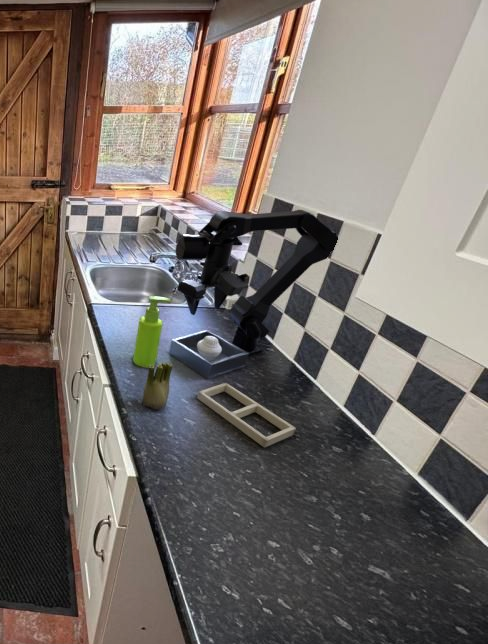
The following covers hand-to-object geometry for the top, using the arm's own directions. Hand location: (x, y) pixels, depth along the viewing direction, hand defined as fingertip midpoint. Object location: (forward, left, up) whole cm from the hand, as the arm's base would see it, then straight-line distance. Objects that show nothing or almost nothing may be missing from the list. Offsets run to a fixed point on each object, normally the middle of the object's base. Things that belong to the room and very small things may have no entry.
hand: (204, 311), depth 115 cm
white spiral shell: (+3, +6, -12) cm, 13 cm away
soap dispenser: (+19, 0, -12) cm, 23 cm away
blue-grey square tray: (+3, +6, -12) cm, 14 cm away
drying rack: (+14, +26, -12) cm, 32 cm away
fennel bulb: (+30, +15, -12) cm, 36 cm away
